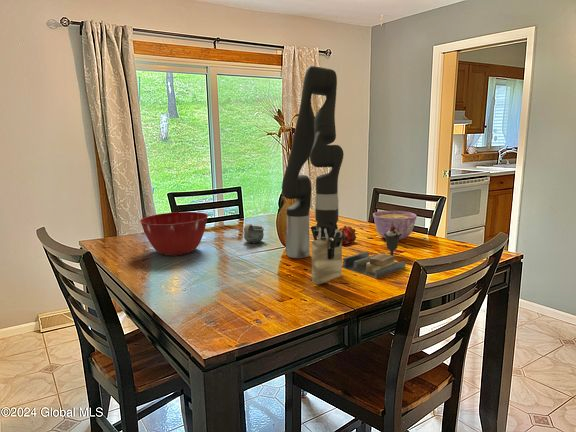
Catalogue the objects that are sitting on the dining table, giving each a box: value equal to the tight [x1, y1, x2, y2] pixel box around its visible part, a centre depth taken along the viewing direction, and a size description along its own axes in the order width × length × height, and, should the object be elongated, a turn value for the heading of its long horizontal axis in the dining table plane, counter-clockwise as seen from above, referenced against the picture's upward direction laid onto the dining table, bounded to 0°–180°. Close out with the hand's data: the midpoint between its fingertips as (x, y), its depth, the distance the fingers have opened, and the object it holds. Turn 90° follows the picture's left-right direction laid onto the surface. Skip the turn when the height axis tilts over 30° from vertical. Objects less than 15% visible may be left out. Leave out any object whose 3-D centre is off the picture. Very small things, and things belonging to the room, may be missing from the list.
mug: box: [243, 223, 265, 244], centre depth 194 cm, size 10×12×10 cm
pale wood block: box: [311, 238, 343, 285], centre depth 140 cm, size 3×11×14 cm, turn 129°
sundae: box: [384, 223, 401, 257], centre depth 165 cm, size 7×7×15 cm
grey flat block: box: [366, 259, 399, 274], centre depth 148 cm, size 6×10×3 cm, turn 129°
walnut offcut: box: [370, 253, 395, 267], centre depth 147 cm, size 5×8×2 cm, turn 137°
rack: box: [342, 251, 406, 279], centre depth 152 cm, size 17×16×4 cm
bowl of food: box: [372, 210, 417, 241], centre depth 198 cm, size 20×20×12 cm
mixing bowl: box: [139, 211, 209, 256], centre depth 182 cm, size 28×28×16 cm
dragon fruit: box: [338, 225, 357, 246], centre depth 191 cm, size 8×8×12 cm
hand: (326, 257), depth 140 cm, fingers closed on pale wood block, 3 cm apart
